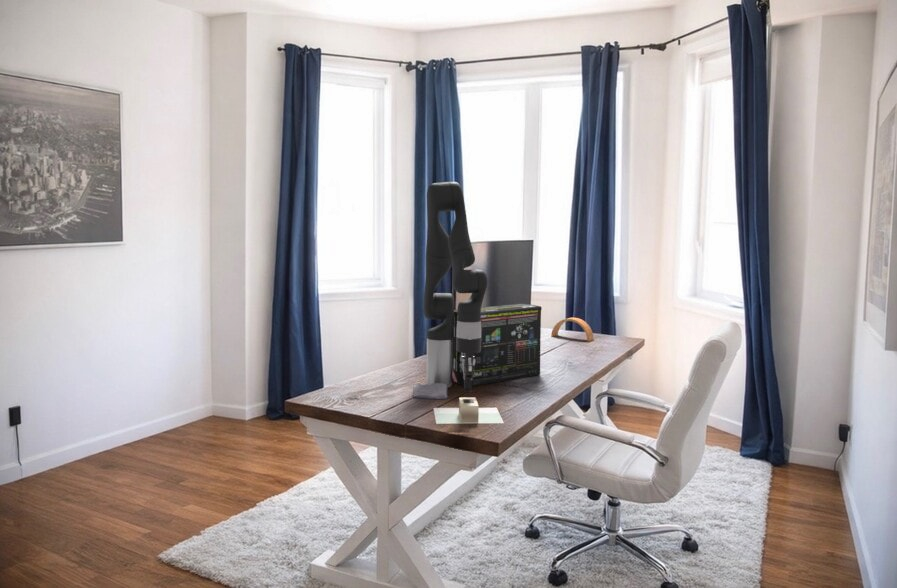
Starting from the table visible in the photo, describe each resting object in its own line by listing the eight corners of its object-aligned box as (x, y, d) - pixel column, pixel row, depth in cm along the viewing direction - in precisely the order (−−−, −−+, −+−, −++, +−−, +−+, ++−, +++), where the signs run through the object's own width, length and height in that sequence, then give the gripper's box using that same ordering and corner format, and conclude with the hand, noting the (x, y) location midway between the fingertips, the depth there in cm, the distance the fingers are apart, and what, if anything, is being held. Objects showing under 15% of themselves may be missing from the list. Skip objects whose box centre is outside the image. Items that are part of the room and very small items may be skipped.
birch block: (459, 397, 218) (461, 405, 209) (475, 397, 219) (478, 405, 210) (458, 413, 219) (461, 422, 210) (475, 413, 219) (478, 422, 210)
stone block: (448, 406, 236) (447, 392, 245) (448, 393, 234) (447, 379, 244) (412, 407, 235) (412, 393, 245) (412, 394, 234) (412, 380, 243)
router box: (522, 369, 281) (524, 302, 278) (541, 375, 272) (544, 306, 269) (448, 381, 261) (449, 309, 257) (466, 388, 252) (467, 313, 248)
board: (433, 409, 224) (433, 407, 224) (496, 409, 226) (496, 407, 226) (436, 425, 209) (436, 423, 209) (504, 425, 210) (504, 423, 210)
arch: (588, 341, 341) (589, 321, 339) (551, 336, 352) (551, 316, 351) (593, 340, 345) (594, 319, 344) (556, 335, 357) (557, 315, 355)
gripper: (454, 331, 222) (453, 386, 224) (458, 339, 209) (457, 397, 211) (478, 331, 222) (477, 386, 224) (483, 339, 209) (482, 397, 211)
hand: (467, 391), depth 218 cm, fingers closed
